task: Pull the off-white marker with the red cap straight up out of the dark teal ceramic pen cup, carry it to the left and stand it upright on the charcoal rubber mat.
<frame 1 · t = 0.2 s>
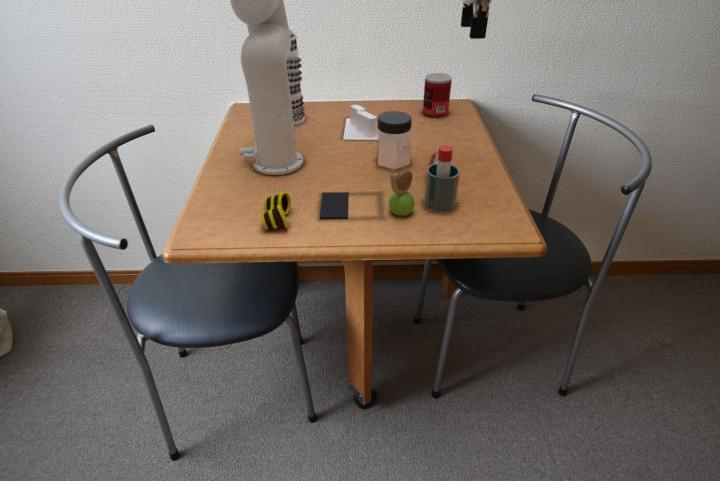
hand: (472, 32, 101), 31 cm above the table, tool pointing down, fingers open, 9 cm apart
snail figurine: (399, 215, 101), on the table
canned food: (435, 113, 146), on the table
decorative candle: (290, 120, 143), on the table
mat: (350, 205, 104), on the table
candy bar: (435, 174, 115), on the table
jar: (392, 163, 120), on the table
marker: (439, 202, 104), point 1 cm above the table, touching pen cup
opera glasses: (277, 220, 100), on the table
napkin holder: (364, 129, 137), on the table
pen cup: (439, 204, 104), on the table, touching marker
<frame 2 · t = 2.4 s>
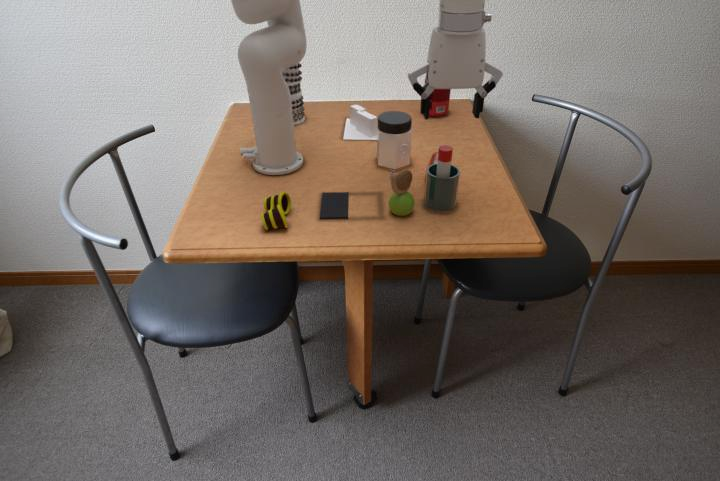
hand: (450, 116, 92), 20 cm above the table, tool pointing down, fingers open, 9 cm apart
nothing on the table moved.
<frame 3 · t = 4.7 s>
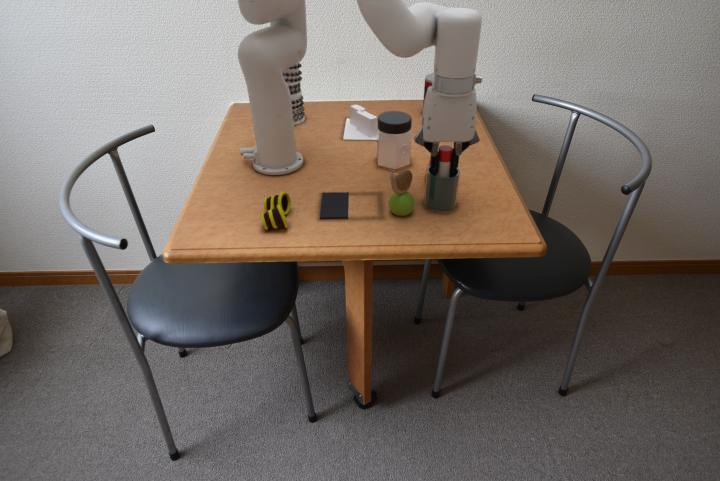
hand: (443, 169, 99), 9 cm above the table, tool pointing down, fingers closed on marker, 2 cm apart
marker: (439, 202, 104), point 1 cm above the table, touching gripper, pen cup
everything else where it was.
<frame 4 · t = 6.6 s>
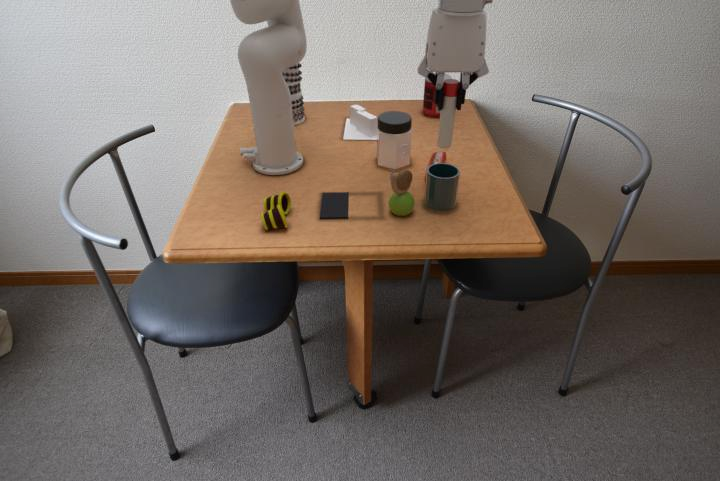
hand: (448, 106, 91), 22 cm above the table, tool pointing down, fingers closed on marker, 2 cm apart
marker: (443, 145, 96), point 14 cm above the table, touching gripper
pen cup: (439, 204, 104), on the table
everything else where it was.
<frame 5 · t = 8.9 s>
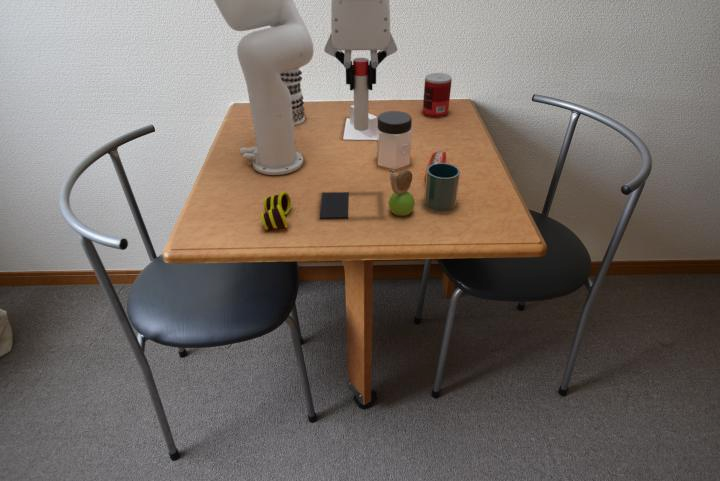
hand: (361, 86, 88), 26 cm above the table, tool pointing down, fingers closed on marker, 2 cm apart
marker: (361, 127, 93), point 18 cm above the table, touching gripper
everything else where it was.
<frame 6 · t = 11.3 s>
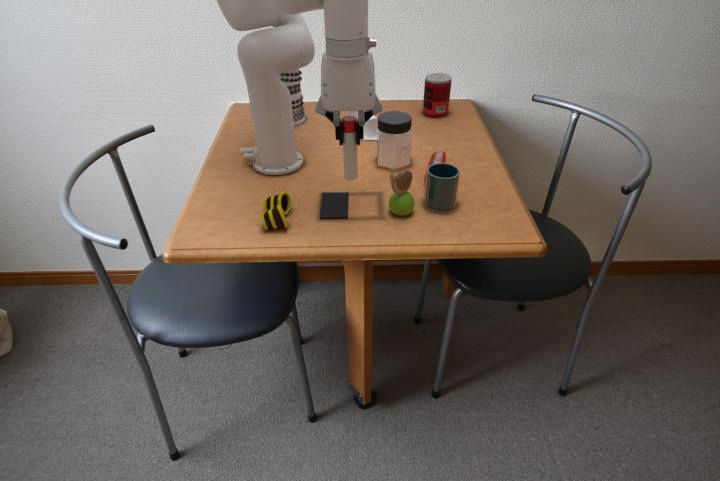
hand: (349, 141, 95), 15 cm above the table, tool pointing down, fingers closed on marker, 2 cm apart
marker: (350, 177, 100), point 7 cm above the table, touching gripper
everything else where it was.
when the fingers open (9 cm above the table, at t = 13.1 s): marker stays where it is, resting on mat.
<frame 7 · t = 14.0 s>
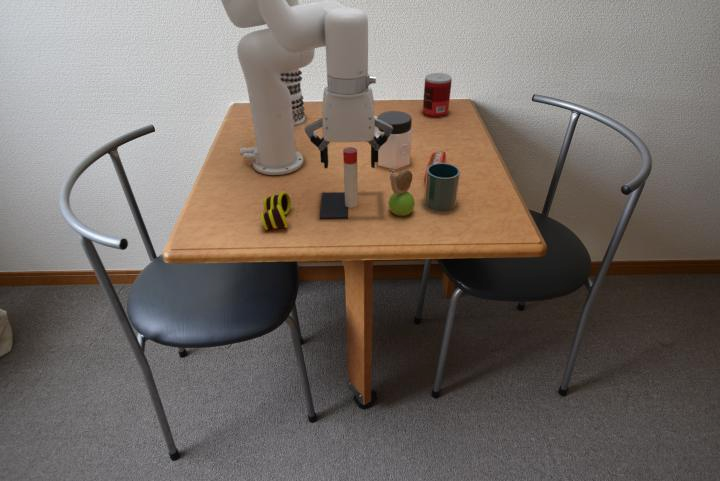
hand: (349, 165, 98), 10 cm above the table, tool pointing down, fingers open, 9 cm apart
marker: (351, 204, 104), resting on mat
everything else where it was.
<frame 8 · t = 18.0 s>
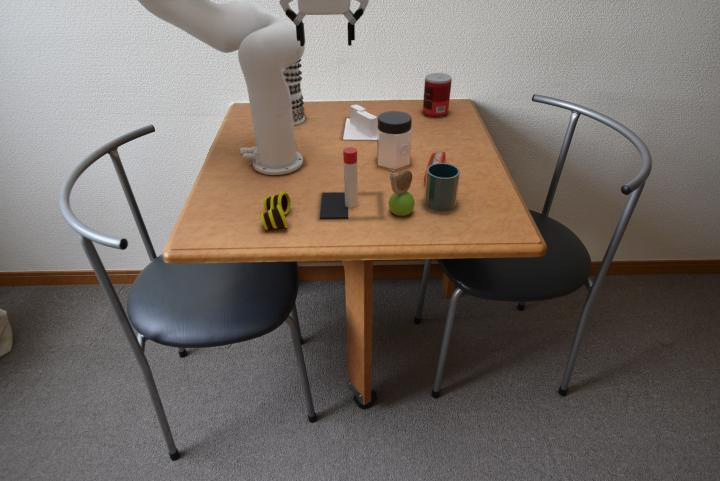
hand: (326, 44, 97), 30 cm above the table, tool pointing down, fingers open, 9 cm apart
nothing on the table moved.
at the end: marker inside the target area on the mat (0.2 cm from its centre), point 0.5 cm above the mat's base; marker tilted 0°; pen cup moved 0.0 cm from its start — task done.
